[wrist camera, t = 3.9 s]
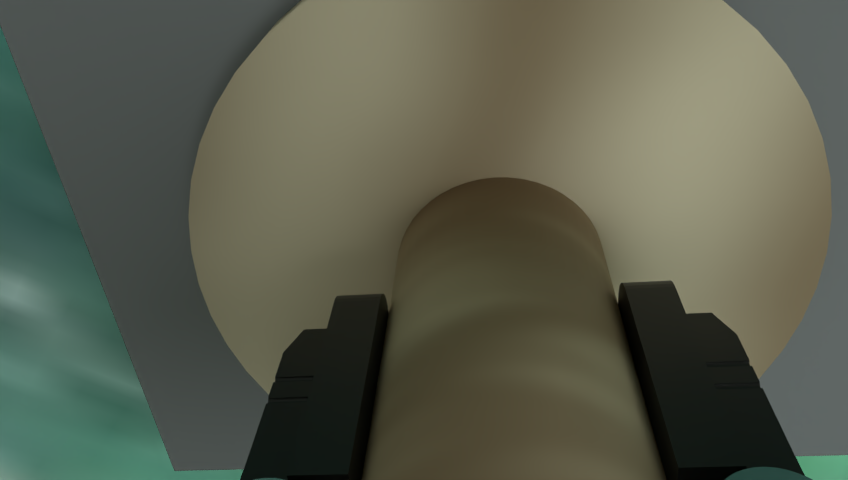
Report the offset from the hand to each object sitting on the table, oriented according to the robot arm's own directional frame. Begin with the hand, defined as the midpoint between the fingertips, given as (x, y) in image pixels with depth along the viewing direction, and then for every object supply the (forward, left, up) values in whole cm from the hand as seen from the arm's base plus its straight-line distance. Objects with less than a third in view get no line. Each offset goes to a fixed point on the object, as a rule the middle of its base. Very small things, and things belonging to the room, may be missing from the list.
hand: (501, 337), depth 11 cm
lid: (0, 0, -3) cm, 3 cm away
